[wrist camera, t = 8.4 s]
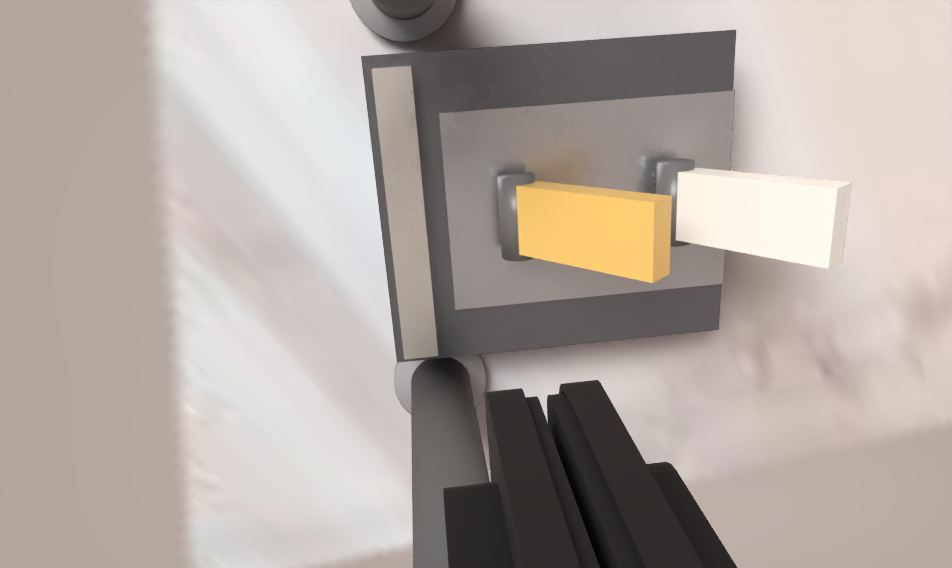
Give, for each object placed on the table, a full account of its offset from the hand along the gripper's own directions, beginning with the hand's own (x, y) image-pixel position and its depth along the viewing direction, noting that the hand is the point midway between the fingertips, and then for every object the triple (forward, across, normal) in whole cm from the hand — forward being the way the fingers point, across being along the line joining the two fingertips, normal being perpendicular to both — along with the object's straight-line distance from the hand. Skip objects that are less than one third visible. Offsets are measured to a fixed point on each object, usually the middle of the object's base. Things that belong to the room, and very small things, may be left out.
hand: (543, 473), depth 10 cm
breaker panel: (+25, -4, +1) cm, 26 cm away
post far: (+25, +2, +11) cm, 27 cm away
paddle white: (+20, -10, +1) cm, 22 cm away
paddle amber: (+20, -3, +1) cm, 20 cm away
